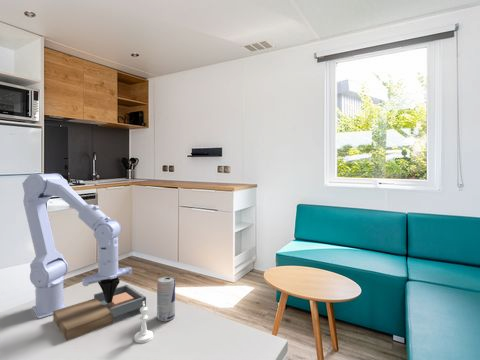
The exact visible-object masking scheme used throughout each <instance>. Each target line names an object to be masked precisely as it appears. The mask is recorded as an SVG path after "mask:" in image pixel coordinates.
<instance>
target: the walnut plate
mask: <svg viewBox="0 0 480 360" xmlns="http://www.w3.org/2000/svg"><path fill="white" fill-rule="evenodd" d="M112 315H113V314H112ZM112 315H111V313H110V310H108V309H107V308H106V307H105V306H104V305H103V304H102V303H101V302H99V301H98V300H97V299H94V298H91V299H88V300H85V301H82V302H78V303H76V304H72V305H69V306H66V307H65V308H62V309H58V310H55V311H53V314H52V316H53V319H52V320H53V322H54V324H55V326H56V327H57V328H58V330H59V331H60V332H61V333H62V335H63V336H64V338H65V340H66V341H67V342H68V341H71V340H73V339H75V338H78V337H81V336H83V335H86V334H89V333H91V332H93V331H97V330H99V329H102V328H105V327H107V326H110V325H113V324H114V323H111V322H113V319H111V318H113V316H112ZM111 316H112V317H111ZM111 320H112V321H111Z"/></svg>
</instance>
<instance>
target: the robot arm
mask: <svg viewBox="0 0 480 360" xmlns="http://www.w3.org/2000/svg"><path fill="white" fill-rule="evenodd" d="M22 187H23V191H24V192H23V193H24V194H23V206H24V210H25V215H26V219H27V223H28V228H29V232H30V236H31V240H32V246H33V249H34V254H35V257H34V258H33V260H32V262H31V263H30V265H29V266H30V273H29V280H30V282H31V284H32V285H33V286H34V288H35V305H33V306H32V307H31V309H32V311H33V312H34V314H35V315H36V317H37V319H42V318H45V317H48V316H53V311H55V310H58V309H62V308H65V307H67V306H66V304H65V301H64V280H65V275H67V274H68V272H69V264H68V262H67V261H66V260H65V258H64V255H63V253H62V252H59V251H58V250H57V249H56V247H57V246H56V244H55V239H54V235H53V231H52V226H51V223H50V218H49V213H48V208H47V203H48V201H49V200H50V199H51V198H52V197H59V198H60V199H61V200H63V201H64V202H65V203H66V204H68V205H69V207H72V208H73V209H74V210H75V211H76V212H78V218H79V220H81V222H83V223H84V224H85V225H86V226H87V227H88V228H90V229H91V230H92V231H93V236H94V239H96V241H97V247H98V248H97V250H98V251H97V254H98V257H97V258H98V260H97V263H98V264H97V265H98V266H97V267H98V271H97V273H95V274H92V275H88V276H87V277H82V286H83V287H88V286H89V285H92V284H96V283H97V284H99V286H100V288H101V292H103V294H104V297H105V301H106V302H107V303H110V302H112V300H113V296H114V292H115V290H116V288H117V287H119V286H118V285H119V284H120V281H121V280H120V278H119V277H122V276H127V275H132V274H133V268H132V267H130V266H126V267H120V268H119V236H120V234H121V233H122V225H121V223H120V222H119V220H117V219H111V217H110V216H107V215H106V214H105V213H104V212H103V211H102V210H100V206H98V205H95V204H88V203H87V202H86V201H85V200H84V199H83V198H82V197H81V196H80V195H79V194H78V193H77V192H76V191H75V190H74V188H72V187H71V186H70V185H69V183H68V180H67V179H65V178H64V177H63V176H62V174H60V173H56V172H54V173H53V172H52V173H31V174H29V175H28V176H27V177H26V179H24V180H23V182H22Z"/></svg>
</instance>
